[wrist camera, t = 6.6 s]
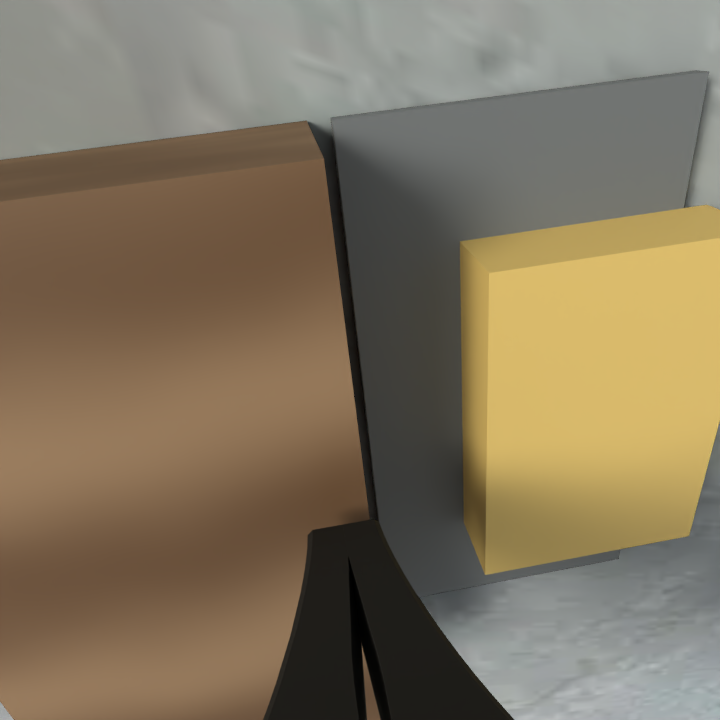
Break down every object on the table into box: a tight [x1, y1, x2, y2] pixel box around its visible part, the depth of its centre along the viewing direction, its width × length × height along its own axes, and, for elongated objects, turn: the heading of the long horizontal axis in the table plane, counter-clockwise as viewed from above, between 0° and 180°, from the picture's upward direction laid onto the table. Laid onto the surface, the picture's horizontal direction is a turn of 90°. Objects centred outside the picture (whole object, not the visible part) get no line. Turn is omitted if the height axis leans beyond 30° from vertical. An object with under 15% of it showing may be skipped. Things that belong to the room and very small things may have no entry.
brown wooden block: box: [0, 121, 381, 720], centre depth 14 cm, size 15×9×4 cm, turn 6°
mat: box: [331, 71, 709, 597], centre depth 16 cm, size 15×8×1 cm, turn 6°
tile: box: [460, 205, 720, 575], centre depth 15 cm, size 9×6×2 cm, turn 6°
